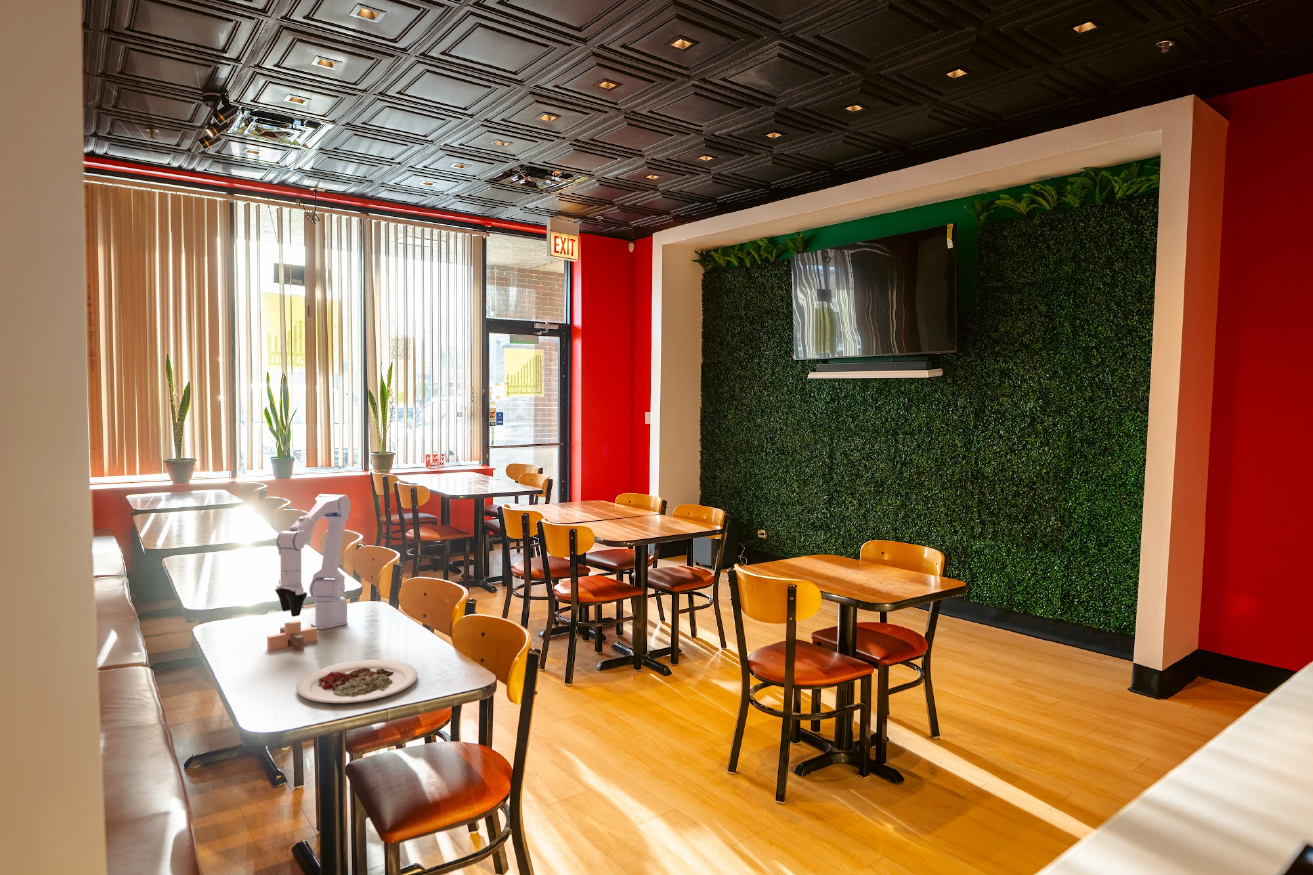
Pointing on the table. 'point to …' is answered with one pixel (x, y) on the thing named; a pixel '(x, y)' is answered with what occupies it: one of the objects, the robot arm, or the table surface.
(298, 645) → the walnut notched bar
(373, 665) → the plated food
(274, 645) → the salmon stepped block
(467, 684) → the table surface
